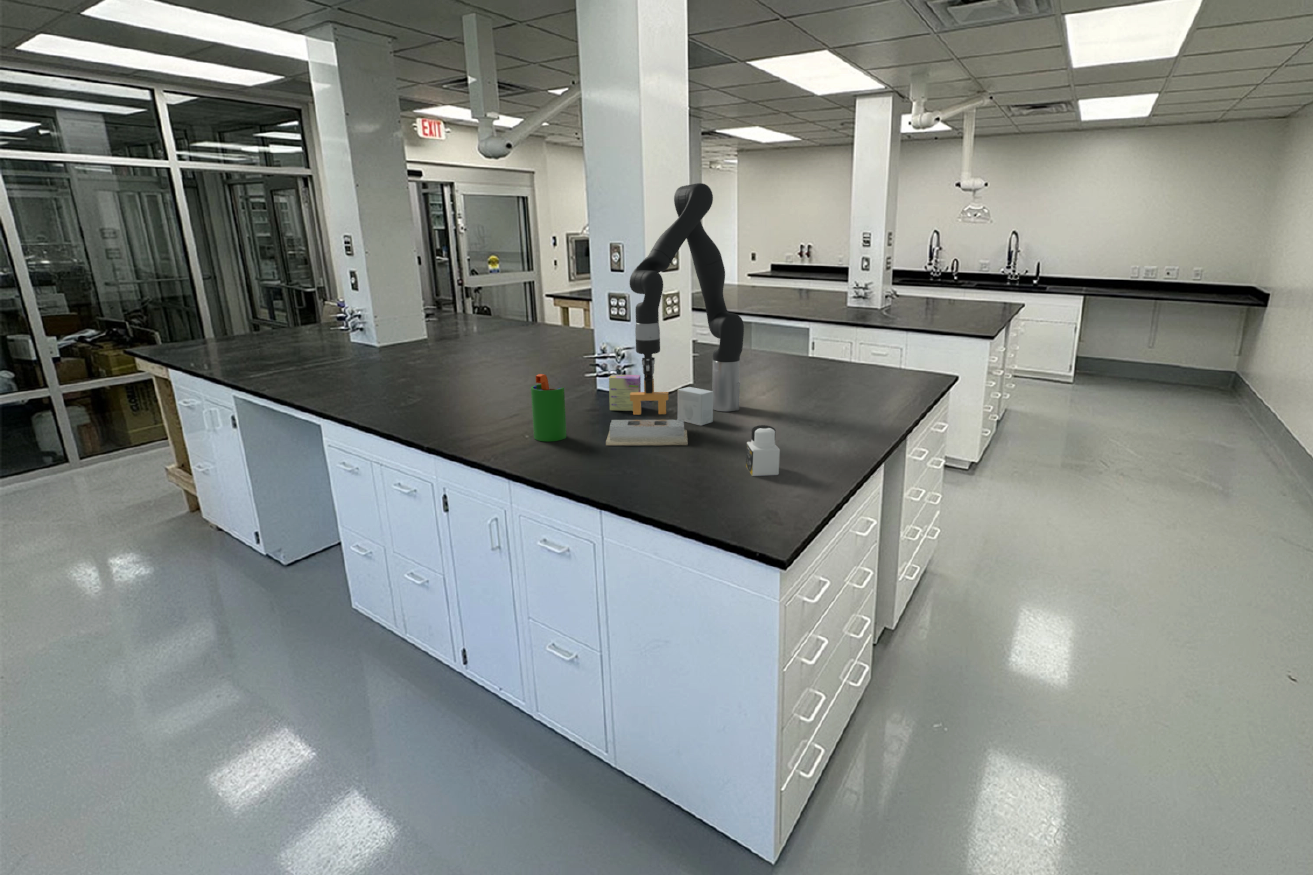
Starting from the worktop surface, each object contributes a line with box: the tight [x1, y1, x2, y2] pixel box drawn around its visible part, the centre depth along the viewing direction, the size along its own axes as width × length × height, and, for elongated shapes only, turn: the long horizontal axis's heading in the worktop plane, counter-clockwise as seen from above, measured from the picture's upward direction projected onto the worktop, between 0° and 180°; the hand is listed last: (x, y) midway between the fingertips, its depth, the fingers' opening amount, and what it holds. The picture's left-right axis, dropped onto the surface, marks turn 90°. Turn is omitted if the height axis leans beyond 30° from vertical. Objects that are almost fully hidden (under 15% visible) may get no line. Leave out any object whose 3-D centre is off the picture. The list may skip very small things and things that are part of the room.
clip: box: [630, 377, 669, 416], centre depth 206 cm, size 12×3×11 cm, turn 89°
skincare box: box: [676, 386, 714, 427], centre depth 213 cm, size 10×6×10 cm, turn 47°
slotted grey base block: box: [605, 419, 689, 446], centre depth 196 cm, size 24×12×5 cm, turn 89°
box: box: [608, 374, 642, 412], centre depth 228 cm, size 10×6×12 cm, turn 84°
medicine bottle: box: [745, 424, 781, 477], centre depth 169 cm, size 7×7×12 cm
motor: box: [530, 373, 567, 442], centre depth 197 cm, size 10×9×20 cm
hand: (649, 391), depth 206 cm, fingers closed on clip, 2 cm apart
